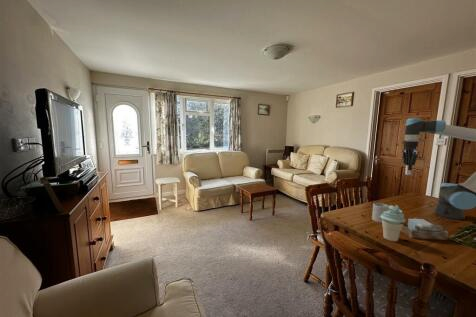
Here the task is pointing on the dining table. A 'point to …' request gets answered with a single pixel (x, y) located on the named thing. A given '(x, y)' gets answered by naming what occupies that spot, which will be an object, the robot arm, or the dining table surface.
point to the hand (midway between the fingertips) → (408, 174)
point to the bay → (426, 231)
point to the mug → (378, 211)
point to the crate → (416, 221)
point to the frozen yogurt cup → (392, 223)
